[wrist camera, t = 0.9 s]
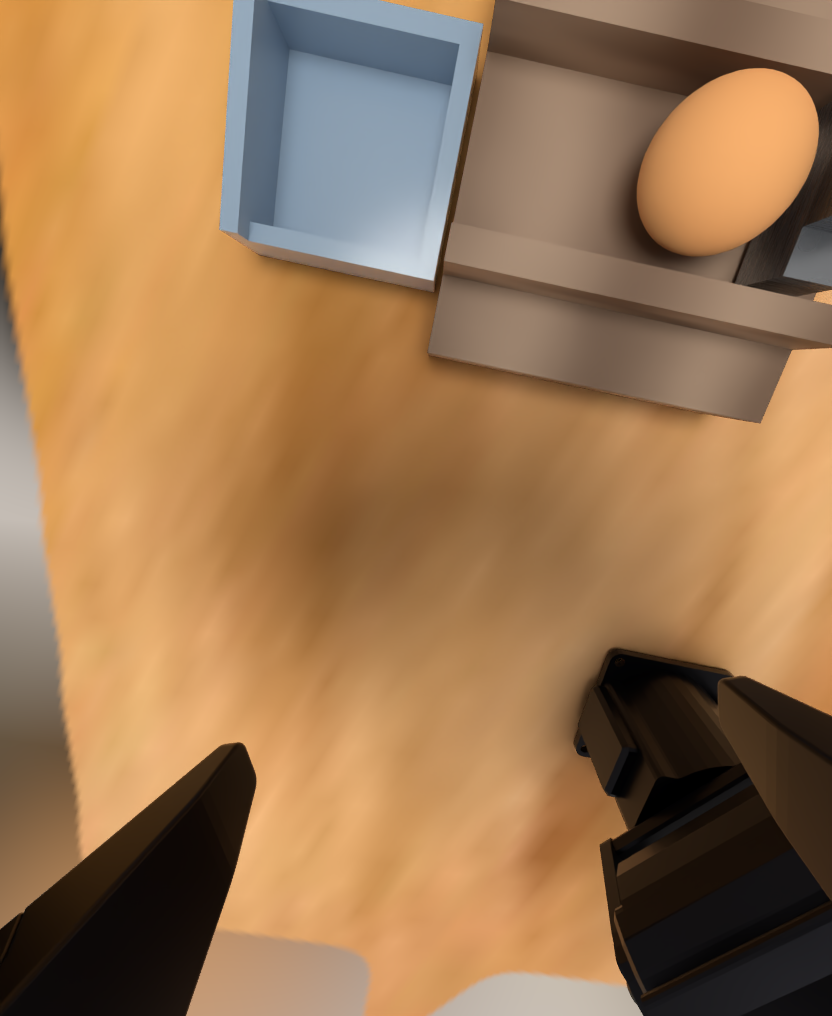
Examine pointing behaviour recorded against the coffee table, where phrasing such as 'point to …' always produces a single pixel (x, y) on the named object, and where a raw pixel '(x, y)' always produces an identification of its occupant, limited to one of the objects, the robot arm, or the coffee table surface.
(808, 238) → the gray stepped block
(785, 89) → the ball
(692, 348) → the brown stepped block
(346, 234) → the light blue square tray
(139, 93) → the coffee table surface
